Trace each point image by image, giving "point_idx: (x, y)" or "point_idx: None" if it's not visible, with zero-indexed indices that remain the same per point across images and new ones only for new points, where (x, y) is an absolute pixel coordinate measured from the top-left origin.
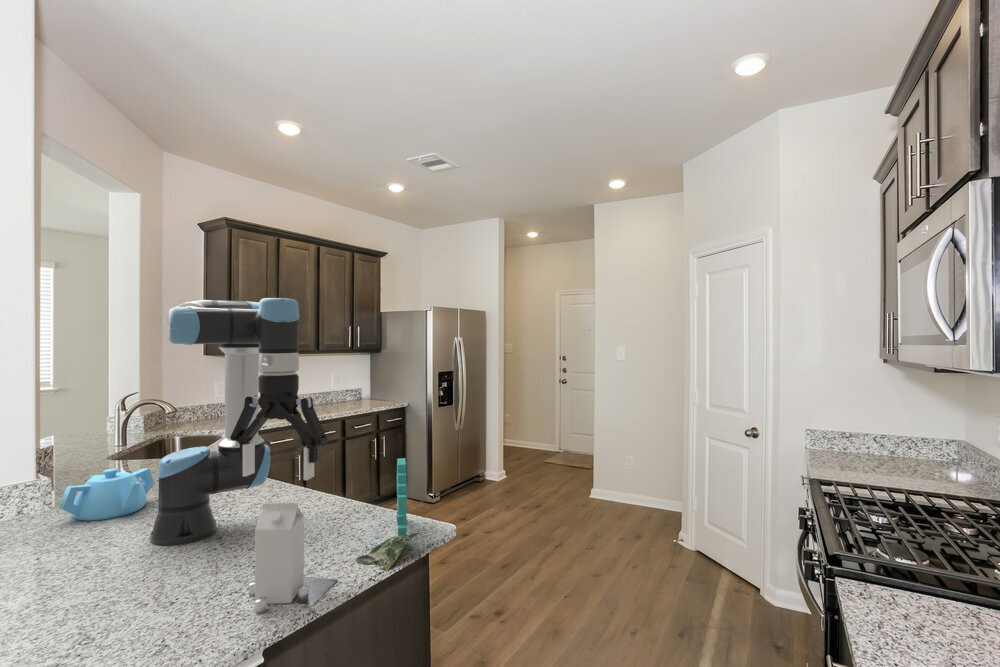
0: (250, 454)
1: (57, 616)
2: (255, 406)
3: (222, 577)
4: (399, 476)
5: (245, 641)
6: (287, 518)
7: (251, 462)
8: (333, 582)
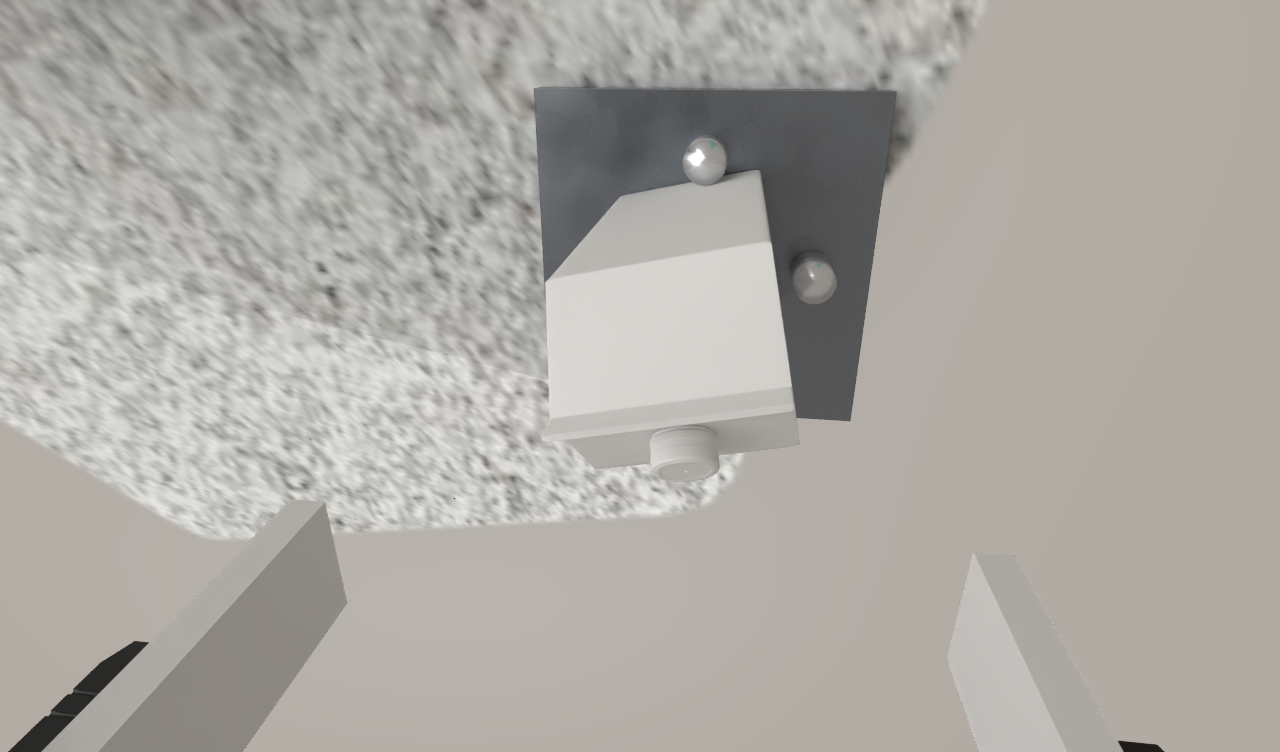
0: (203, 717)
1: (93, 393)
2: None
3: (340, 96)
4: None
5: None
6: (750, 427)
7: (265, 624)
8: (886, 122)
